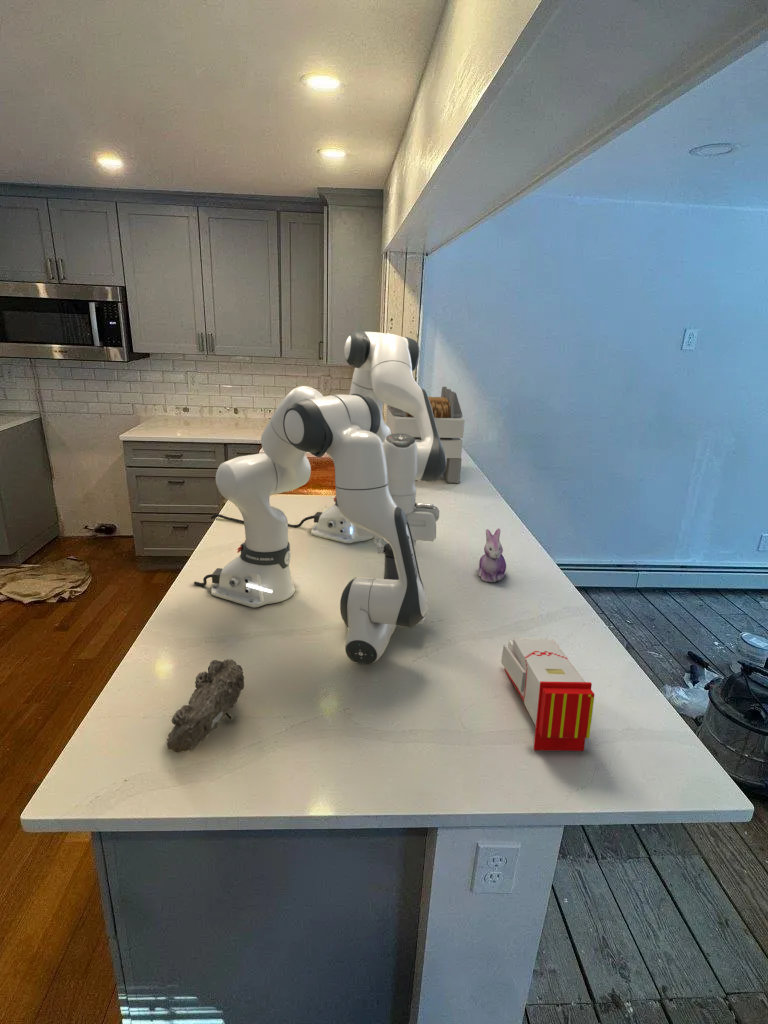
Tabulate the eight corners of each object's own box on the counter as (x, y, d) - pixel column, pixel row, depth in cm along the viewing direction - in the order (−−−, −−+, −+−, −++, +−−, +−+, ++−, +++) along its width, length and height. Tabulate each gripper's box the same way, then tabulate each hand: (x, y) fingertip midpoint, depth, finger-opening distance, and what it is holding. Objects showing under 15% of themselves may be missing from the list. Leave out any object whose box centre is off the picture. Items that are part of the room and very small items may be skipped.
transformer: (382, 463, 289) (386, 382, 275) (445, 464, 293) (451, 384, 279) (390, 482, 257) (394, 392, 243) (460, 483, 261) (468, 394, 247)
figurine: (489, 586, 164) (495, 538, 159) (468, 571, 173) (473, 526, 168) (514, 580, 169) (521, 533, 163) (493, 566, 177) (498, 521, 172)
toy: (549, 621, 128) (604, 690, 99) (544, 676, 131) (595, 758, 101) (496, 620, 128) (535, 688, 98) (492, 675, 130) (528, 757, 101)
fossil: (192, 660, 117) (244, 628, 112) (224, 691, 120) (276, 661, 115) (142, 746, 98) (202, 712, 93) (182, 779, 101) (242, 748, 96)
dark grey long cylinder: (378, 610, 149) (381, 547, 143) (393, 606, 151) (397, 544, 145) (388, 618, 145) (392, 554, 139) (403, 613, 148) (407, 550, 142)
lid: (392, 559, 139) (393, 552, 138) (379, 551, 143) (380, 544, 142) (409, 554, 142) (409, 547, 142) (396, 547, 146) (396, 540, 145)
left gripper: (423, 612, 131) (433, 586, 144) (339, 598, 136) (356, 574, 148) (421, 636, 133) (431, 608, 146) (339, 621, 138) (355, 595, 150)
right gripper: (439, 500, 140) (435, 551, 145) (357, 495, 141) (356, 546, 146) (440, 508, 134) (435, 562, 139) (354, 503, 136) (353, 555, 140)
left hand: (393, 591), depth 147 cm, fingers closed on dark grey long cylinder, 5 cm apart
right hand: (394, 553), depth 143 cm, fingers open, 5 cm apart
